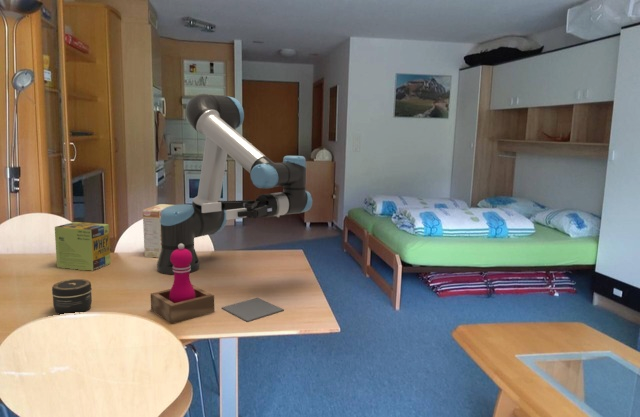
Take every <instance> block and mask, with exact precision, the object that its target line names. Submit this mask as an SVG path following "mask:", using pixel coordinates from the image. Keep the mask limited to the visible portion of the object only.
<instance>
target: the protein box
mask: <svg viewBox="0 0 640 417" xmlns="http://www.w3.org/2000/svg"><path fill="white" fill-rule="evenodd" d="M109 224H110V223H109ZM109 224H108V223H107V224H106V223H95V222H94V223H93V222H81V221H80V222H79V221H73V222H70V223H65V224H61V225H56V226H54V236H55V237H54V238H55V239H54V240H55V256H56V268H57V267H63V268H62V269H65V268H70V269H69V270H75V269H78V271H79V270H80V271H85V270H92V271H91V272H94V270H95V271H97V270H99V269H101V268H100V267H102V268H104V267H106V266H109V265H111V264H110V263H111V261H112V260H111V245H110V243H111V242H110V240H111V239H110V225H109ZM108 264H109V265H108ZM105 265H106V266H105ZM103 266H104V267H103ZM98 268H99V269H98ZM96 269H97V270H96Z"/></svg>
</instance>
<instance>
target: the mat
mask: <svg viewBox="0 0 640 417" xmlns="http://www.w3.org/2000/svg"><path fill="white" fill-rule="evenodd" d="M221 310H222V311H225V312H227V313H229V314H230V315H233V316H235V317H237V318H238V319H241V320H243V321H244V322H246V323H250V322H252V321H255V320H259V319H262V318H265V317H268V316H272V315H275V314H278V313H280V312H284V311H285V309H284V308H281V307H279V306H277V305H275V304H273V303H270V302H269V301H267V300H266V301H265V300H263V299H262V298H259V297H254V298H251V299H247V300H243V301H240V302H236V303H233V304H229V305H226V306H222V307H221Z"/></svg>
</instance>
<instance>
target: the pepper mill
mask: <svg viewBox="0 0 640 417" xmlns="http://www.w3.org/2000/svg"><path fill="white" fill-rule="evenodd" d="M178 248H179V249H176V250H175V251H173V252H172V254H171V257H170V260H171V263H172V264H173V265H174V266H173V267H172V268H173V272H174V274H173V275H174V277H173V284H172V285H171V288H170V289H171V290H170V294H169V300H170V301H171V302H173V303H178V302H182V301H186V300H190V299H194V298H195V291H194V288H193V286H192V285H193V284H192V282H191V278H190V273H189V271H190V270H191V268H190V267H191V265H189V264H190V263H191V262H192V254H191V252H190V251H189V250H187V249H184V244H179V245H178Z"/></svg>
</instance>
